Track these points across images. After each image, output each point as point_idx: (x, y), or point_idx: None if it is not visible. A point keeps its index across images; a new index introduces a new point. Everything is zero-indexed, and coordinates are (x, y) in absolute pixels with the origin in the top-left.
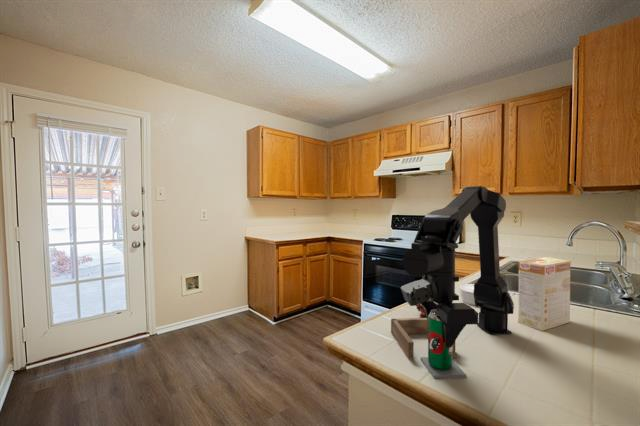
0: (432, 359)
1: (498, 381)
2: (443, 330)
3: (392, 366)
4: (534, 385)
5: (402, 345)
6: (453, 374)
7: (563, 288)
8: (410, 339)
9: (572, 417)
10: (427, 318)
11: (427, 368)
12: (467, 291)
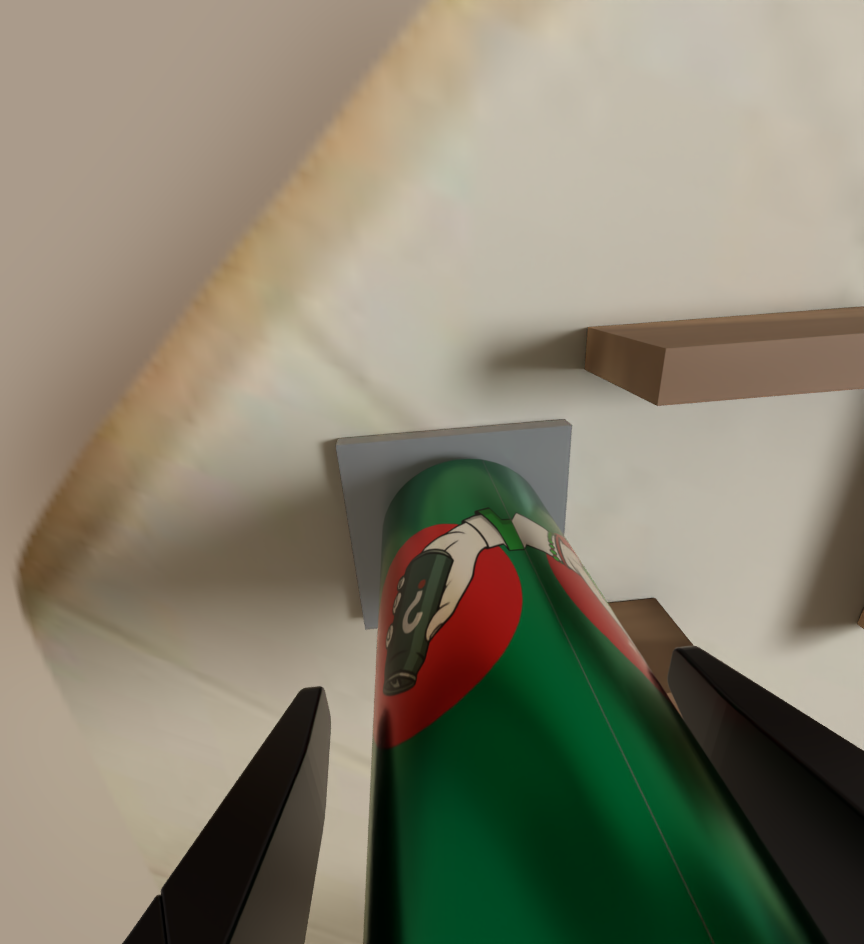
0: (426, 493)
1: (345, 729)
2: (224, 926)
3: (490, 128)
4: (331, 823)
5: (757, 320)
6: (360, 566)
7: None
8: (719, 390)
9: (149, 840)
10: (861, 771)
11: (445, 431)
12: None
